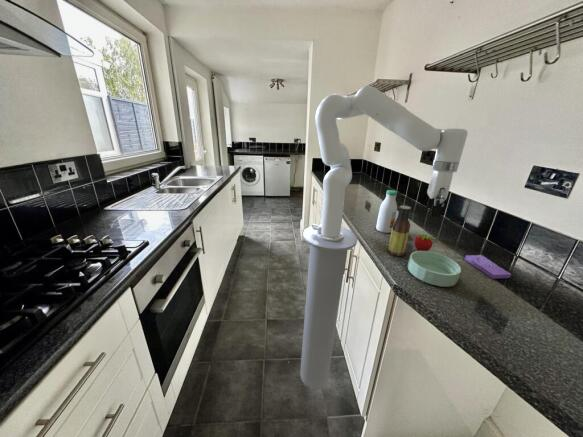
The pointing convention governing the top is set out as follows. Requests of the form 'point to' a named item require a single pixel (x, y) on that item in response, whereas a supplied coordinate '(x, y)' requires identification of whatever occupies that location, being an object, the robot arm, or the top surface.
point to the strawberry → (423, 242)
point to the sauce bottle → (400, 232)
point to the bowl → (434, 268)
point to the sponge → (487, 266)
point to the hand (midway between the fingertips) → (432, 212)
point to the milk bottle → (387, 212)
